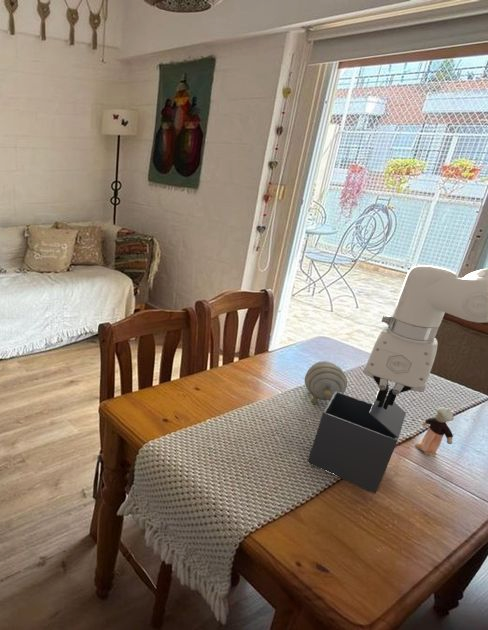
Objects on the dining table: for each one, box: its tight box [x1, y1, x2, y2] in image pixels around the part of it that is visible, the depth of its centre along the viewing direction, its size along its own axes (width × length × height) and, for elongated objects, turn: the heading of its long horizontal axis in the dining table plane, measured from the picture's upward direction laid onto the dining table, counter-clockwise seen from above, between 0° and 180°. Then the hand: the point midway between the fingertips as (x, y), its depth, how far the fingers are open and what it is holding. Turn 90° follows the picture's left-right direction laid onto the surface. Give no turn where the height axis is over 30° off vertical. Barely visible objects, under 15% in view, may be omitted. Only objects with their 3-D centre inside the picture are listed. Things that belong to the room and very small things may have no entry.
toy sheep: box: [304, 360, 348, 405], centre depth 125 cm, size 11×17×11 cm, turn 160°
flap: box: [369, 389, 407, 439], centre depth 94 cm, size 7×12×1 cm
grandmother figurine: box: [414, 406, 455, 458], centre depth 105 cm, size 8×4×13 cm, turn 17°
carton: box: [307, 391, 399, 495], centre depth 100 cm, size 14×12×14 cm
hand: (383, 405), depth 94 cm, fingers closed
